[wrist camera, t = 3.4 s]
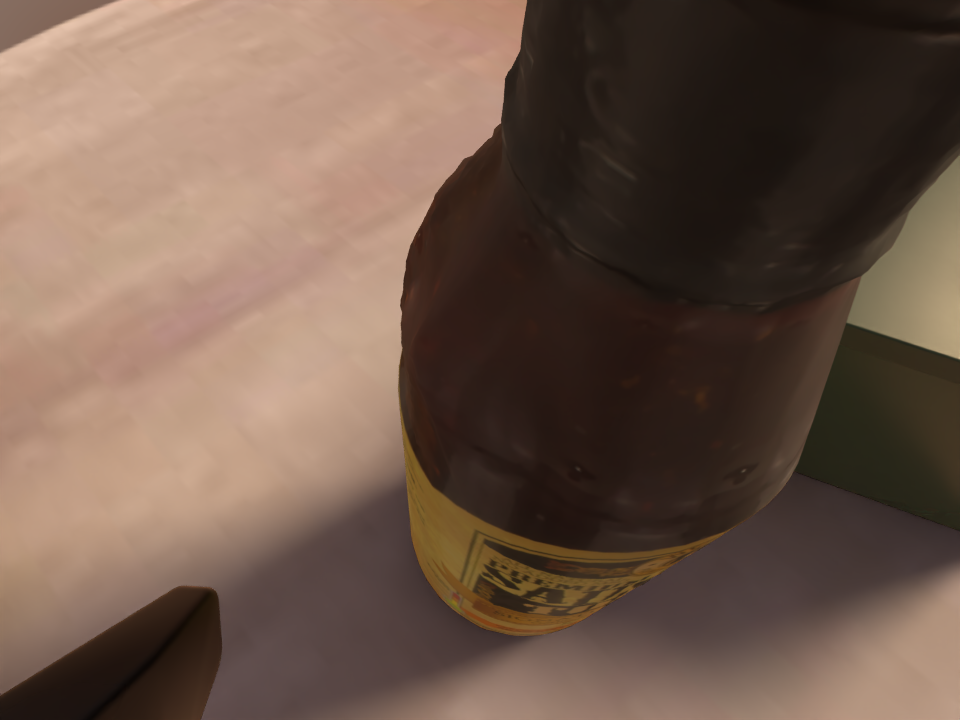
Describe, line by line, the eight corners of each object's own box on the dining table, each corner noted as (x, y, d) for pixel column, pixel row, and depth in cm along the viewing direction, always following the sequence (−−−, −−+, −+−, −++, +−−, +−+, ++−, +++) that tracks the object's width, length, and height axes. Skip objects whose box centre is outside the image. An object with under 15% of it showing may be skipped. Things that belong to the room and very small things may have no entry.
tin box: (1007, 555, 20) (1363, 464, 12) (676, 435, 22) (806, 285, 14) (1010, 379, 23) (1305, 211, 15) (717, 283, 25) (845, 83, 17)
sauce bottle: (466, 681, 18) (789, 290, 1) (382, 480, 21) (-25, -748, 3) (666, 577, 20) (2459, -424, 2) (566, 400, 22) (1005, -752, 5)
